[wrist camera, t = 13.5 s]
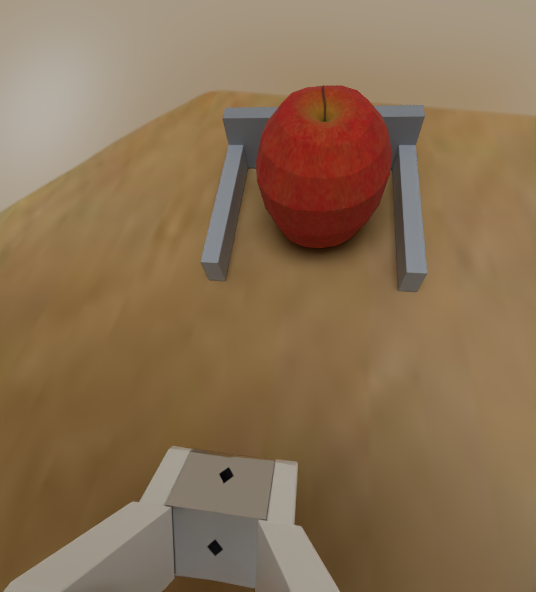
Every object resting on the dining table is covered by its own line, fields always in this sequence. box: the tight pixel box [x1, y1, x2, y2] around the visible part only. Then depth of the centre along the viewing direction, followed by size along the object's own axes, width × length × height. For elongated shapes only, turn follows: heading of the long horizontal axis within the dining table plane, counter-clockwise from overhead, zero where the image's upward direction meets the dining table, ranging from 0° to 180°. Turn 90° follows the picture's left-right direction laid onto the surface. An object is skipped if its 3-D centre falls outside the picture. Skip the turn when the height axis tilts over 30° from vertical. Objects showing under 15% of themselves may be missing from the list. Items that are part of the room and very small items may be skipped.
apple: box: [256, 86, 392, 248], centre depth 28 cm, size 10×10×14 cm
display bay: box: [201, 105, 427, 292], centre depth 32 cm, size 18×16×6 cm
